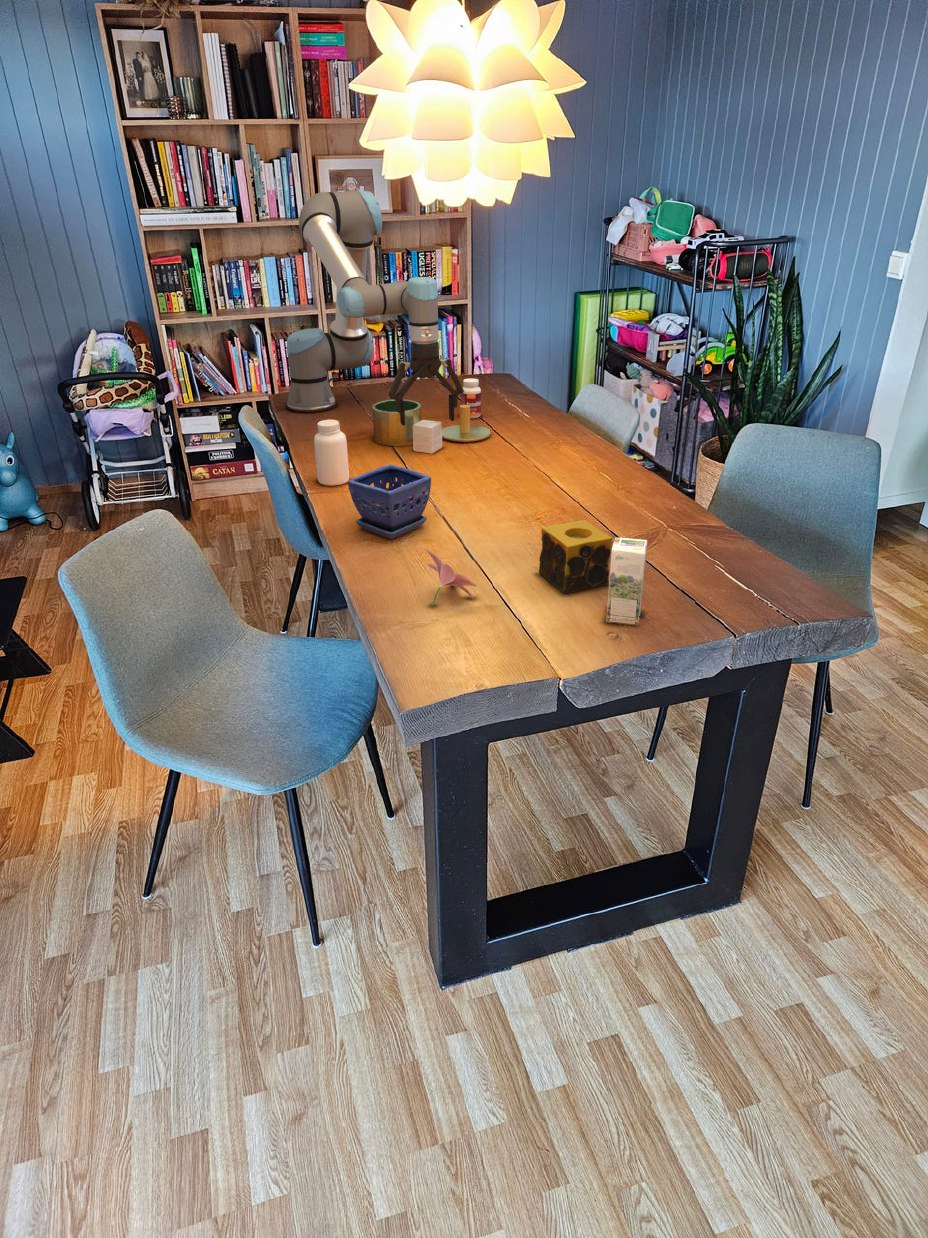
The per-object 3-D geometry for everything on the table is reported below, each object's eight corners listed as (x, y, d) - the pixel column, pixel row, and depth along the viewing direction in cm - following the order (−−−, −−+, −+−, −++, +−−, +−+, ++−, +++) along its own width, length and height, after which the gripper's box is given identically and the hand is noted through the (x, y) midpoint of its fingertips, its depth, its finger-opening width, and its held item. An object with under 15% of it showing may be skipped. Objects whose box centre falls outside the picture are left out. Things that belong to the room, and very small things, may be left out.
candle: (537, 573, 173) (539, 526, 168) (582, 564, 177) (584, 518, 172) (563, 595, 165) (565, 546, 160) (609, 585, 168) (613, 537, 164)
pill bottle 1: (315, 486, 218) (309, 427, 211) (320, 475, 225) (315, 417, 218) (347, 486, 218) (342, 427, 210) (351, 475, 225) (347, 417, 217)
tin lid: (434, 430, 258) (433, 401, 253) (482, 426, 261) (482, 397, 257) (446, 445, 245) (445, 415, 241) (496, 440, 248) (497, 410, 244)
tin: (370, 434, 256) (368, 401, 251) (416, 429, 259) (415, 397, 254) (378, 448, 244) (376, 414, 239) (427, 443, 247) (425, 410, 243)
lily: (477, 620, 159) (493, 569, 158) (417, 603, 155) (432, 551, 154) (458, 610, 170) (472, 562, 170) (401, 594, 166) (416, 545, 166)
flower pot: (392, 545, 186) (389, 492, 180) (349, 530, 193) (345, 478, 188) (434, 526, 195) (433, 475, 189) (392, 512, 202) (389, 462, 196)
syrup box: (641, 611, 159) (648, 538, 152) (638, 627, 154) (645, 551, 147) (609, 608, 160) (614, 535, 153) (605, 623, 155) (611, 548, 148)
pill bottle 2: (466, 419, 267) (466, 383, 262) (457, 415, 272) (456, 379, 266) (484, 417, 269) (484, 380, 264) (475, 412, 274) (474, 376, 269)
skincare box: (424, 444, 246) (423, 419, 243) (443, 447, 244) (442, 421, 240) (412, 451, 241) (411, 424, 238) (432, 454, 239) (431, 427, 235)
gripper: (379, 347, 223) (384, 429, 233) (474, 340, 228) (475, 421, 238) (374, 341, 229) (379, 422, 239) (466, 335, 234) (468, 414, 244)
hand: (427, 421), depth 239 cm, fingers open, 13 cm apart
